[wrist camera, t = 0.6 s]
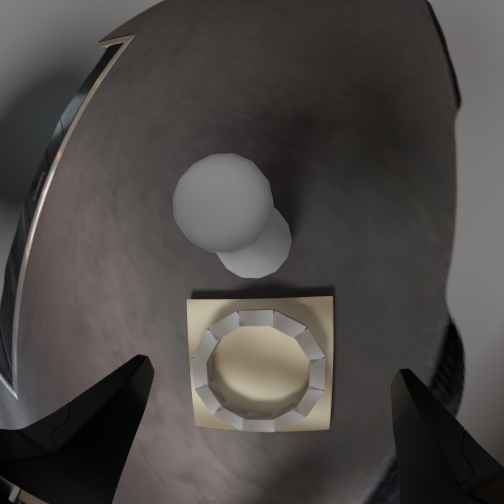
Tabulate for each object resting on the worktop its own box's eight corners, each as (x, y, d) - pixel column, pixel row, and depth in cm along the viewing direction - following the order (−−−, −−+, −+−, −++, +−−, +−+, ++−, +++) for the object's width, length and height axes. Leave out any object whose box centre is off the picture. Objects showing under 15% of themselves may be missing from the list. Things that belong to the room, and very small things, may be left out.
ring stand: (328, 425, 20) (331, 437, 18) (198, 422, 22) (189, 432, 19) (331, 295, 22) (335, 296, 19) (190, 299, 23) (180, 300, 21)
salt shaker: (274, 201, 23) (256, 110, 11) (302, 262, 22) (317, 228, 10) (213, 228, 24) (137, 168, 11) (237, 290, 23) (173, 290, 10)
